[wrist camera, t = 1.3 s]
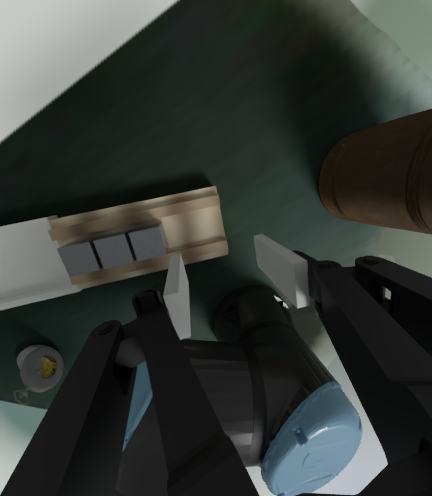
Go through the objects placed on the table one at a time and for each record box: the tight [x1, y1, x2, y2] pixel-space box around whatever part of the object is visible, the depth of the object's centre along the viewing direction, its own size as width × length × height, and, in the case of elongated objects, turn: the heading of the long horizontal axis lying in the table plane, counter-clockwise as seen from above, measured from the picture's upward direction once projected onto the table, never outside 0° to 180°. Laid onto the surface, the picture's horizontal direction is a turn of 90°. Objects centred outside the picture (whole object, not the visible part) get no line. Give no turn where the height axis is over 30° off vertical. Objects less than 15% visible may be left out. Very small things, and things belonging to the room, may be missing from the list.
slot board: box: [48, 186, 228, 290], centre depth 32 cm, size 24×11×4 cm, turn 101°
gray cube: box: [128, 222, 169, 261], centre depth 29 cm, size 4×4×4 cm
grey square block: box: [93, 229, 137, 269], centre depth 29 cm, size 4×4×4 cm
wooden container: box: [319, 109, 432, 234], centre depth 26 cm, size 15×15×22 cm
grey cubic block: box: [57, 235, 103, 277], centre depth 29 cm, size 4×4×4 cm
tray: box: [0, 215, 82, 310], centre depth 31 cm, size 16×12×2 cm
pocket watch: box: [13, 345, 64, 405], centre depth 33 cm, size 8×8×10 cm
